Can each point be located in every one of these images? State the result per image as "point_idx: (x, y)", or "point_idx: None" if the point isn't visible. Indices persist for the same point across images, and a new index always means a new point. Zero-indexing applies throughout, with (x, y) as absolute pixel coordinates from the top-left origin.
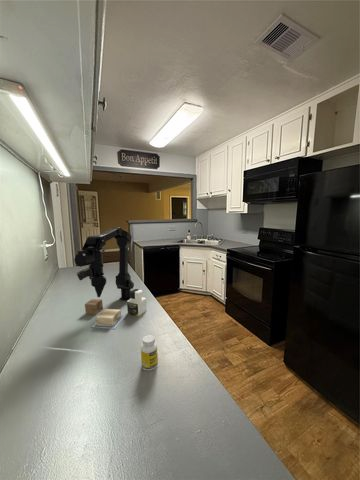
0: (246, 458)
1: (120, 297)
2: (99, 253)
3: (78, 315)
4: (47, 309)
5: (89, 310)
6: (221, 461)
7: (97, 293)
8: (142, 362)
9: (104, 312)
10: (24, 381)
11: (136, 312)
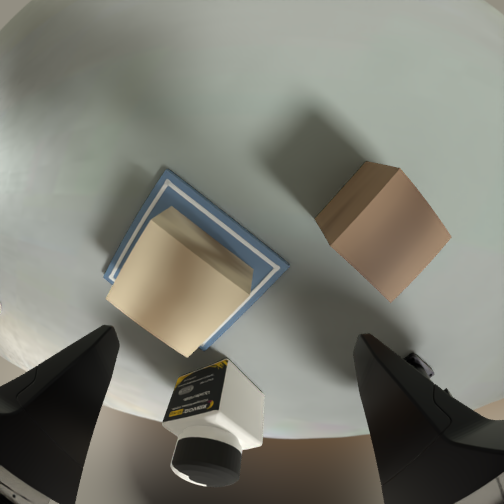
0: None
1: (420, 360)
2: None
3: (383, 120)
4: (500, 35)
5: (356, 188)
6: None
7: (67, 356)
8: None
9: (194, 279)
10: (21, 29)
11: (178, 388)
